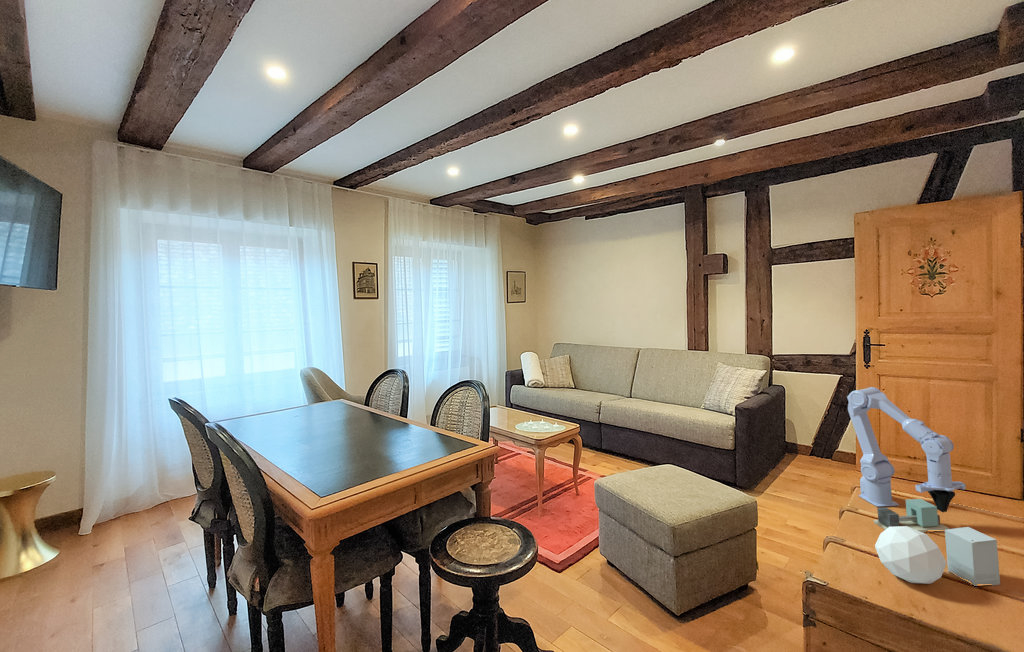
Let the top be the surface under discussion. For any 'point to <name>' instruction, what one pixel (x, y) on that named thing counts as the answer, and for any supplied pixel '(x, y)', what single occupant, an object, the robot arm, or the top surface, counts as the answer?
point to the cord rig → (903, 521)
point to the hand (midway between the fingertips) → (941, 510)
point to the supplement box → (972, 556)
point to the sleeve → (922, 512)
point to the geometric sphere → (910, 555)
